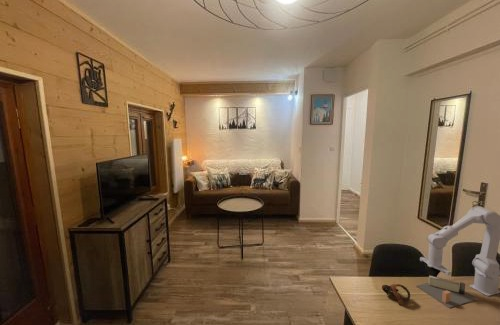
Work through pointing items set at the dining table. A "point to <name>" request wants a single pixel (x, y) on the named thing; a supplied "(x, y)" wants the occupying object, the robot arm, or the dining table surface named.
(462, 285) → the gate post
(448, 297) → the block
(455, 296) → the mat
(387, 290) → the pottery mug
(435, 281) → the bar
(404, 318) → the dining table surface
